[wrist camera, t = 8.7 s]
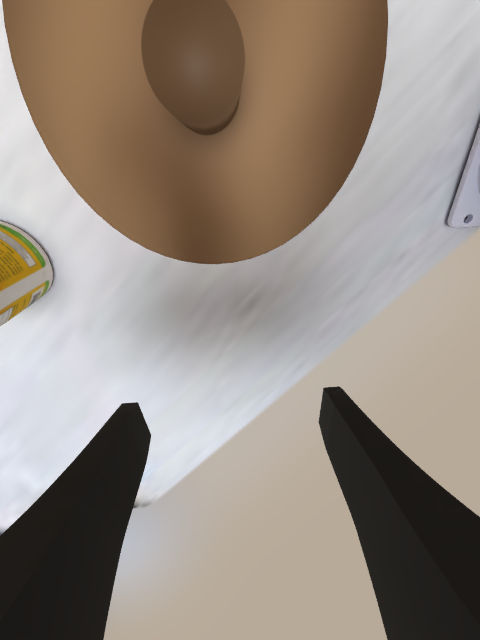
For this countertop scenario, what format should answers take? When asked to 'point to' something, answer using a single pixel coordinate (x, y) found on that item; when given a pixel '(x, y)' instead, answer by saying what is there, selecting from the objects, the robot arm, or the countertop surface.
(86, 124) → the lid
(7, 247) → the supplement bottle
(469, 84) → the countertop surface
